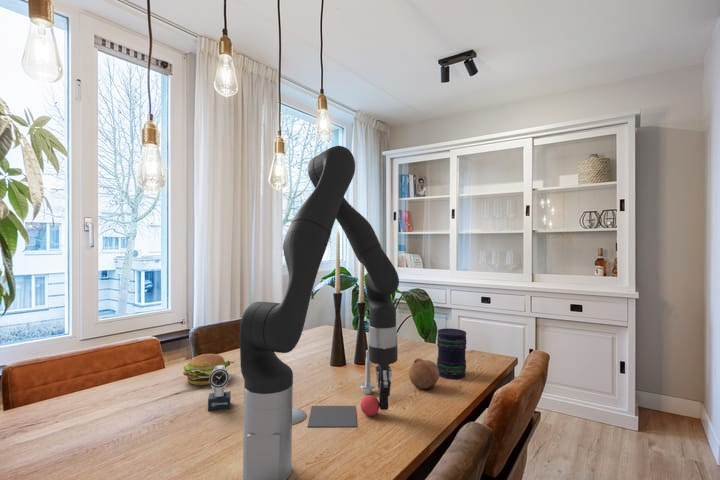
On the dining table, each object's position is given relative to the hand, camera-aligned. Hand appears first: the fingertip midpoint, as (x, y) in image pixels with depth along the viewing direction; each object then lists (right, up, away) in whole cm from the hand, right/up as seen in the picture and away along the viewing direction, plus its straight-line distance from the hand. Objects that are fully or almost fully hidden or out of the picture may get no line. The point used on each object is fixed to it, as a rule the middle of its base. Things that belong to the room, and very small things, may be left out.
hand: (383, 408), depth 102 cm
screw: (-4, -2, +16) cm, 16 cm away
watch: (-45, -1, +4) cm, 45 cm away
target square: (-13, -2, -1) cm, 13 cm away
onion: (+14, -2, +20) cm, 25 cm away
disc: (-25, -1, -1) cm, 25 cm away
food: (-56, -2, +24) cm, 61 cm away
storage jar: (+25, -3, +33) cm, 42 cm away
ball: (-4, +1, 0) cm, 4 cm away
